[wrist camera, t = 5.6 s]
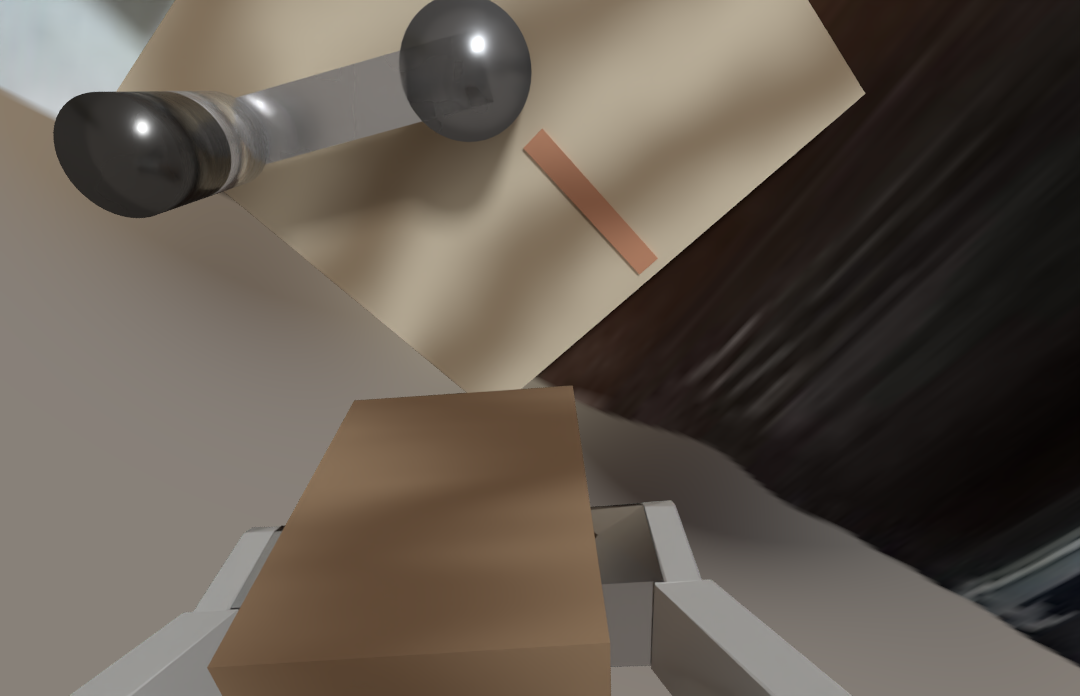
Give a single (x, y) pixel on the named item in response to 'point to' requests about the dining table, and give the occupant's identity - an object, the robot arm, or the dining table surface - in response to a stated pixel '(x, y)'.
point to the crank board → (520, 158)
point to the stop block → (433, 560)
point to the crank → (295, 113)
